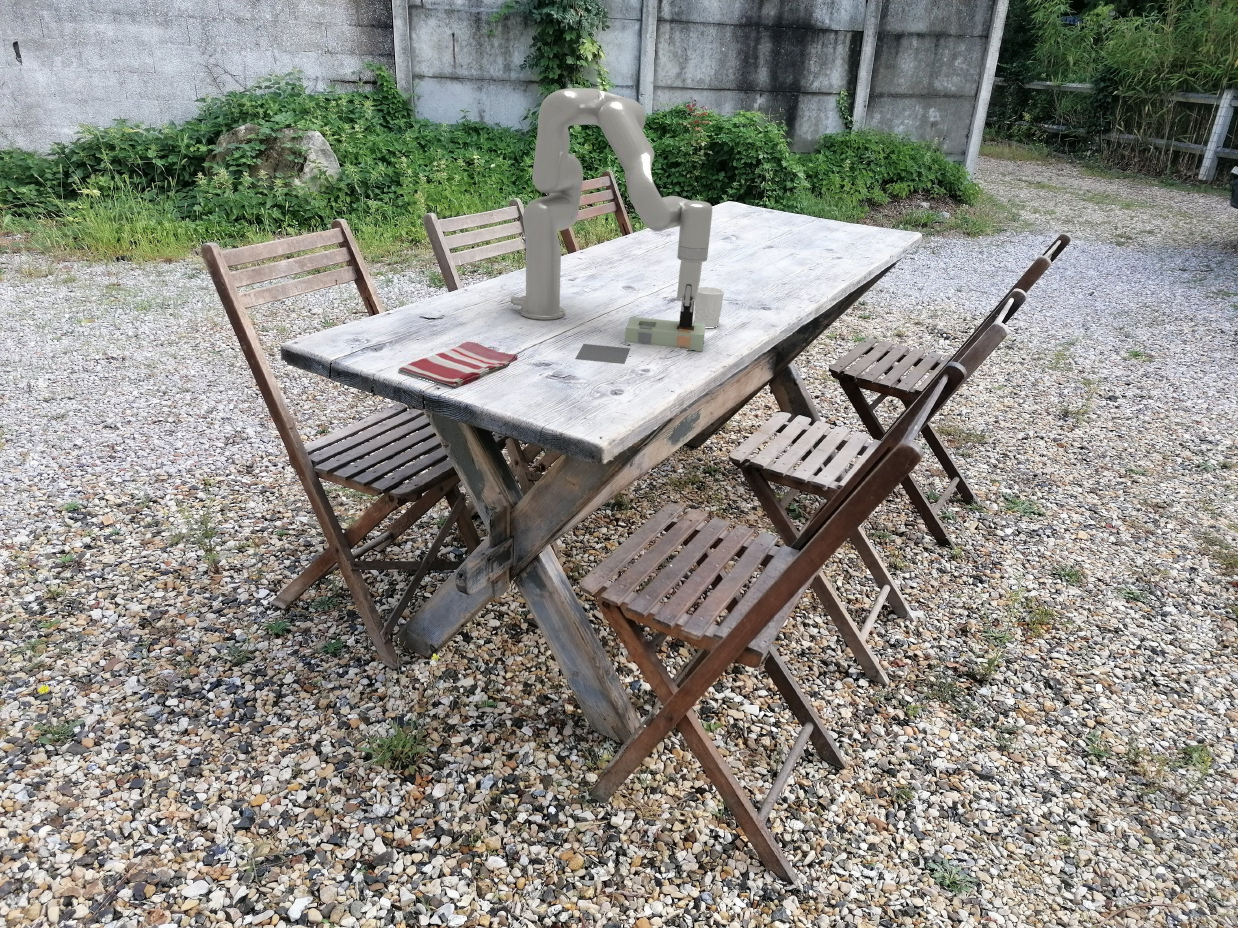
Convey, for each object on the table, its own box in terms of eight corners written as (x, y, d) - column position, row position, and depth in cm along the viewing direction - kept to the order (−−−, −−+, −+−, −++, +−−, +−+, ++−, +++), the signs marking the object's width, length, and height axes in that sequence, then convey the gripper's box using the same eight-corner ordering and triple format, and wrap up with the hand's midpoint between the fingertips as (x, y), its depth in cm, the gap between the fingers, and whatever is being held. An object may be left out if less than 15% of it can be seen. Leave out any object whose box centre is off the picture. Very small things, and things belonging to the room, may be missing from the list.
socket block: (624, 344, 215) (625, 326, 213) (629, 333, 224) (630, 315, 222) (702, 352, 213) (704, 334, 211) (703, 340, 222) (705, 322, 220)
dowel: (678, 335, 216) (681, 297, 211) (679, 331, 219) (682, 294, 214) (690, 336, 216) (694, 298, 211) (691, 332, 218) (695, 295, 214)
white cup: (697, 330, 230) (701, 294, 226) (688, 321, 237) (691, 286, 233) (724, 329, 232) (728, 294, 228) (713, 321, 239) (717, 286, 235)
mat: (574, 362, 201) (575, 359, 201) (583, 346, 212) (583, 343, 211) (624, 367, 200) (624, 363, 200) (630, 351, 211) (630, 348, 210)
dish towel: (520, 364, 199) (520, 353, 198) (453, 392, 181) (453, 380, 180) (465, 349, 207) (465, 338, 206) (396, 374, 188) (396, 363, 187)
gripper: (679, 245, 215) (673, 314, 224) (675, 259, 201) (668, 332, 209) (708, 247, 215) (701, 317, 223) (706, 261, 200) (698, 335, 208)
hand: (685, 324), depth 216 cm, fingers closed on dowel, 3 cm apart
